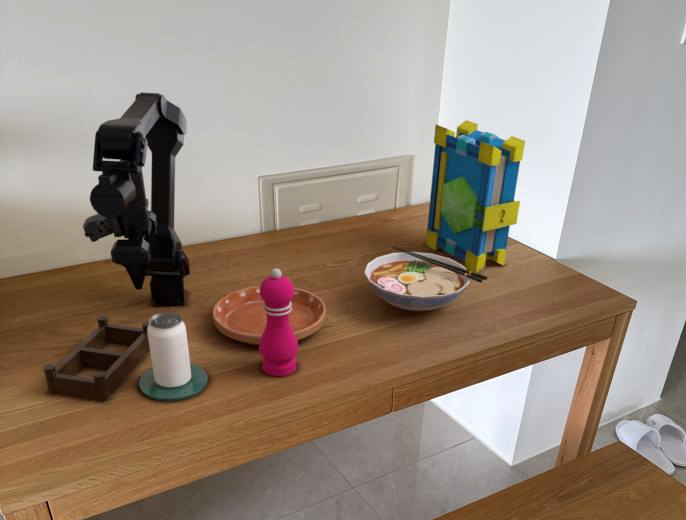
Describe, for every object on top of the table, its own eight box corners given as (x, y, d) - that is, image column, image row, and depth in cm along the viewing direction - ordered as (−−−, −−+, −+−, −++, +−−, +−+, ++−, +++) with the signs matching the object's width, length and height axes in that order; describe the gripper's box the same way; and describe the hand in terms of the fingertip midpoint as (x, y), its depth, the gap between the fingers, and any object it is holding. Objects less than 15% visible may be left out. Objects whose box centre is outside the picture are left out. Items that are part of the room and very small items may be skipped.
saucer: (190, 325, 147) (188, 309, 144) (271, 289, 161) (270, 274, 159) (269, 365, 135) (268, 348, 133) (348, 323, 150) (348, 307, 148)
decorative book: (471, 277, 171) (488, 148, 154) (413, 243, 186) (423, 123, 169) (515, 265, 177) (536, 140, 160) (456, 234, 193) (469, 117, 176)
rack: (104, 337, 141) (100, 314, 139) (156, 344, 140) (153, 322, 137) (47, 393, 125) (41, 368, 122) (105, 402, 123) (100, 377, 121)
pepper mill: (260, 357, 137) (255, 260, 126) (298, 357, 138) (297, 260, 126) (259, 378, 131) (254, 278, 120) (299, 377, 132) (297, 278, 120)
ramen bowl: (338, 300, 158) (338, 266, 153) (404, 271, 172) (407, 238, 167) (426, 342, 144) (430, 305, 140) (491, 306, 158) (496, 272, 154)
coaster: (208, 363, 135) (208, 360, 134) (206, 399, 125) (206, 396, 125) (142, 366, 133) (142, 363, 133) (135, 403, 123) (135, 400, 123)
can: (192, 387, 127) (185, 327, 120) (154, 390, 126) (145, 330, 119) (191, 368, 132) (184, 309, 125) (154, 371, 131) (146, 312, 124)
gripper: (90, 181, 134) (104, 259, 143) (72, 217, 119) (89, 302, 128) (152, 181, 136) (162, 258, 144) (141, 216, 120) (153, 300, 129)
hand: (141, 278), depth 136 cm, fingers open, 9 cm apart
